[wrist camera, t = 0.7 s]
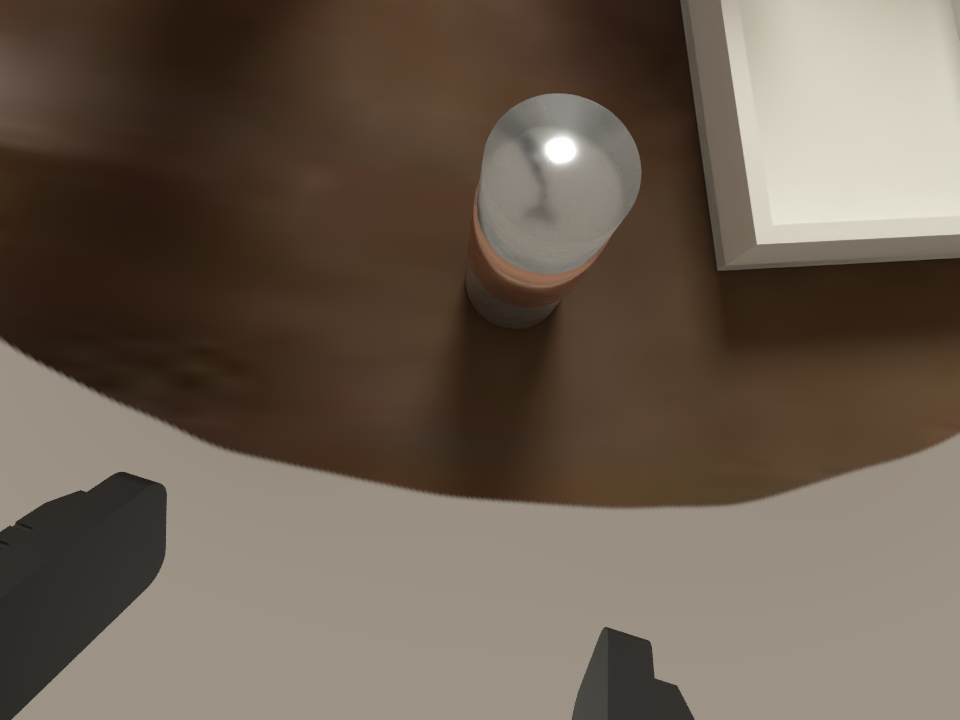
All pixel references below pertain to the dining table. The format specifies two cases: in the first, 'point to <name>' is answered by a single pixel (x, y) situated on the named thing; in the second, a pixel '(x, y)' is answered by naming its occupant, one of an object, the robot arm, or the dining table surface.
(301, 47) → the dining table surface
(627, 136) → the tin
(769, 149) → the tray
